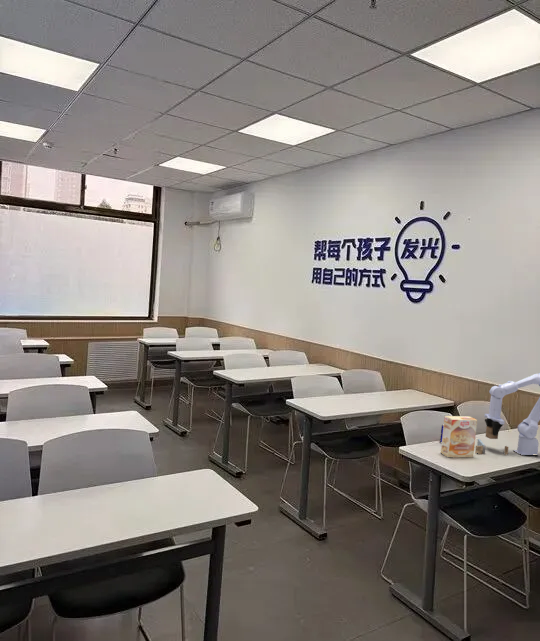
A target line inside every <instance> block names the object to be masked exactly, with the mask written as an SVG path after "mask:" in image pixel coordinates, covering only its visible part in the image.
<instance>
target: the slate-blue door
mask: <svg viewBox="0 0 540 641" xmlns="http://www.w3.org/2000/svg"><path fill="white" fill-rule="evenodd" d="M476 446H483V451H482V454H485V455H486V447H487V446H486V445H485V443H484V442H483V441H482V440H481V439H480V438H478V439H477V444H476Z"/></svg>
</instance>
